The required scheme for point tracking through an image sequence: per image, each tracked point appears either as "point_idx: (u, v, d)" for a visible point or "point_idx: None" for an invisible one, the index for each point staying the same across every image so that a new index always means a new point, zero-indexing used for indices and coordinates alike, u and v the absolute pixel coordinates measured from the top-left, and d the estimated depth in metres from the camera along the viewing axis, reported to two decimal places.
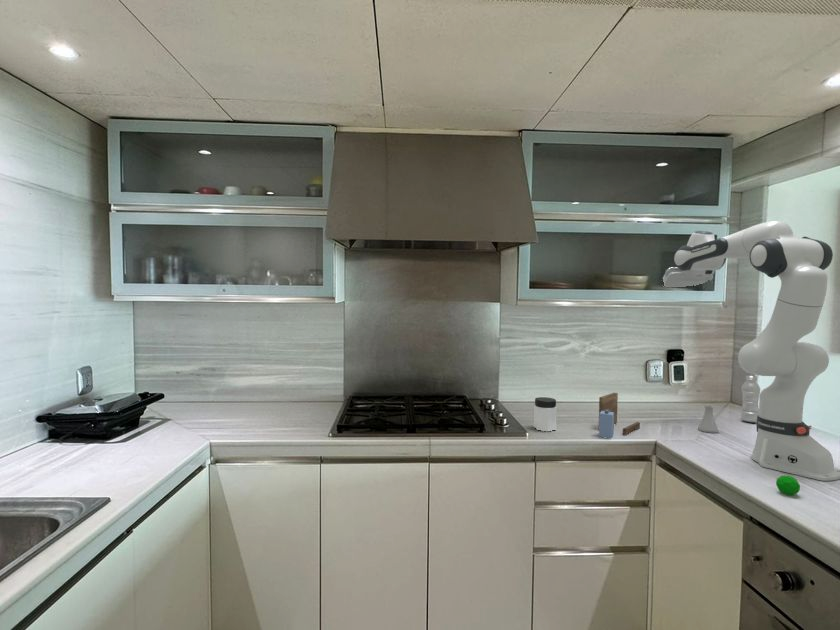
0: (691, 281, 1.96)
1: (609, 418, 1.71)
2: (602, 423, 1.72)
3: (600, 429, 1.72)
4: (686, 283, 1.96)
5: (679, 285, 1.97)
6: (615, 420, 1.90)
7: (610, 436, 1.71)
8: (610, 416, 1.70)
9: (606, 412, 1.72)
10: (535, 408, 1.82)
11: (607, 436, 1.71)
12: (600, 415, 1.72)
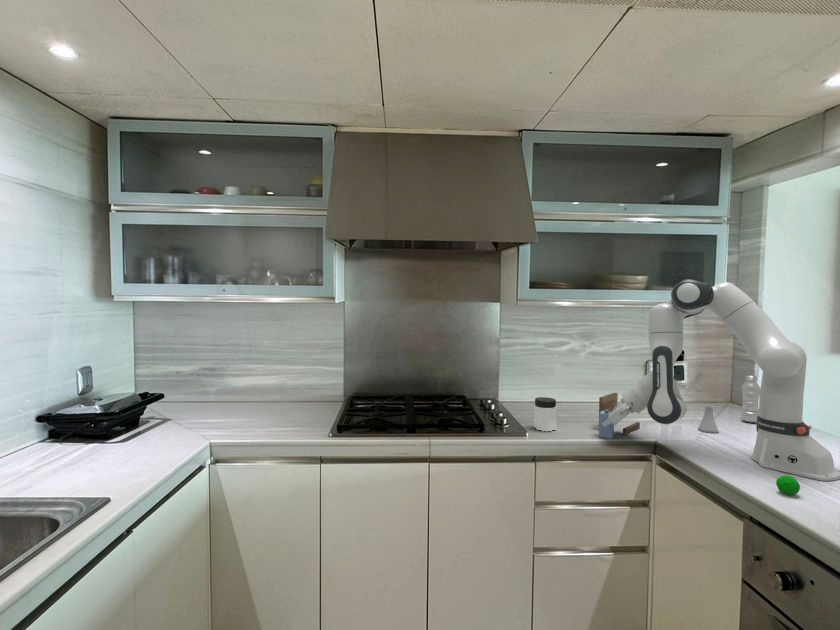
0: None
1: None
2: None
3: (600, 429, 1.72)
4: None
5: None
6: None
7: (610, 436, 1.71)
8: None
9: (606, 412, 1.72)
10: (535, 408, 1.82)
11: (607, 436, 1.71)
12: (600, 415, 1.72)
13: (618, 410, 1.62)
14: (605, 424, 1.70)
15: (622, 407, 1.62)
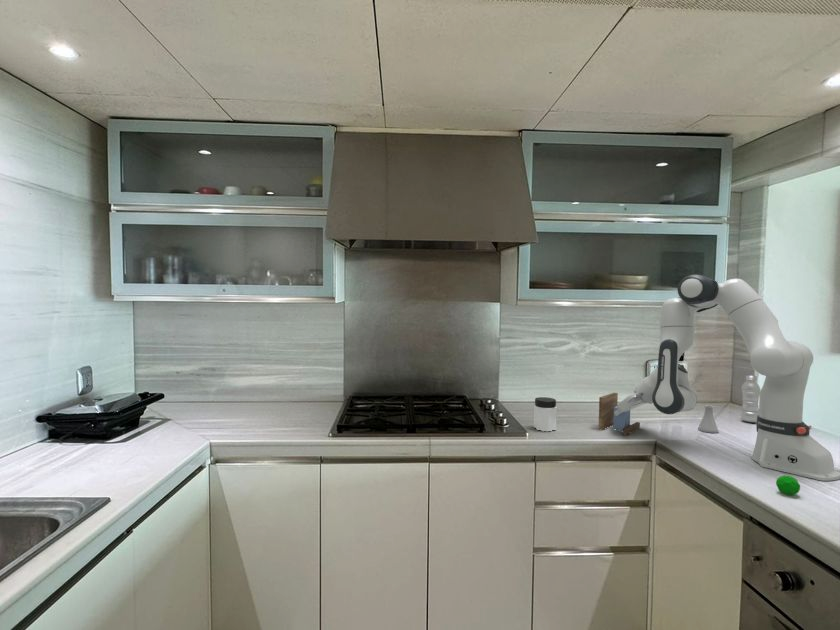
0: (639, 403, 1.79)
1: None
2: (616, 417, 1.82)
3: (614, 422, 1.82)
4: (636, 405, 1.78)
5: (631, 408, 1.77)
6: None
7: None
8: None
9: None
10: (535, 408, 1.82)
11: (620, 429, 1.81)
12: (614, 409, 1.82)
13: (626, 399, 1.72)
14: (617, 413, 1.79)
15: (630, 396, 1.72)
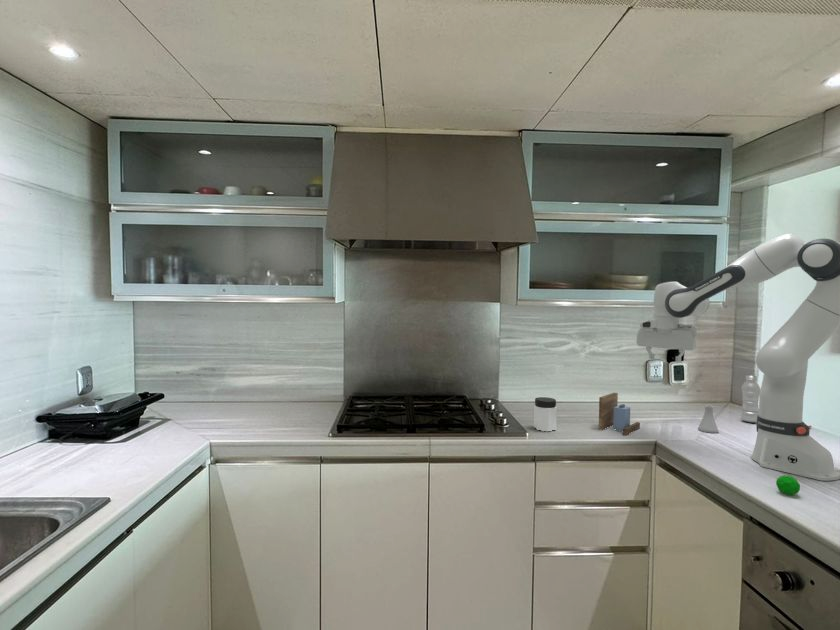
0: None
1: (622, 412, 1.80)
2: (616, 417, 1.82)
3: (614, 422, 1.82)
4: None
5: None
6: None
7: None
8: (623, 410, 1.80)
9: (620, 406, 1.82)
10: (535, 408, 1.82)
11: (620, 429, 1.81)
12: (614, 409, 1.82)
13: (692, 336, 1.67)
14: (680, 358, 1.71)
15: (691, 332, 1.67)
